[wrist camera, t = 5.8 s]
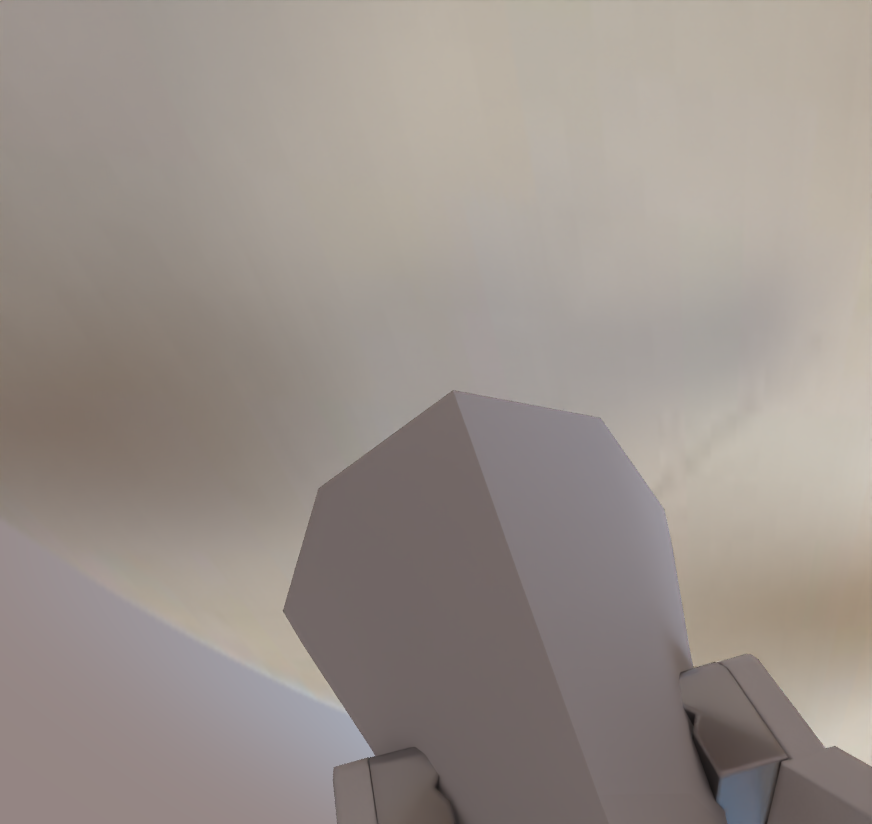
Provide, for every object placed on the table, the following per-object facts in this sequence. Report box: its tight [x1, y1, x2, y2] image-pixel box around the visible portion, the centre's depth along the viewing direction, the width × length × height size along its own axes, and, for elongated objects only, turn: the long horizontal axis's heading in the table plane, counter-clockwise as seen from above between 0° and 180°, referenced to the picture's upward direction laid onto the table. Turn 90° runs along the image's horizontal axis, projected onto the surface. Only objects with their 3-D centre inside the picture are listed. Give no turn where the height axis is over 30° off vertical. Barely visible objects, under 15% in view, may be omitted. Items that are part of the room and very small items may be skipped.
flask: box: [283, 390, 727, 824], centre depth 10 cm, size 7×7×10 cm
